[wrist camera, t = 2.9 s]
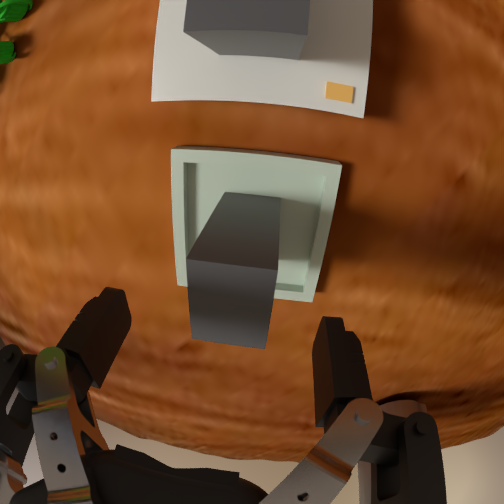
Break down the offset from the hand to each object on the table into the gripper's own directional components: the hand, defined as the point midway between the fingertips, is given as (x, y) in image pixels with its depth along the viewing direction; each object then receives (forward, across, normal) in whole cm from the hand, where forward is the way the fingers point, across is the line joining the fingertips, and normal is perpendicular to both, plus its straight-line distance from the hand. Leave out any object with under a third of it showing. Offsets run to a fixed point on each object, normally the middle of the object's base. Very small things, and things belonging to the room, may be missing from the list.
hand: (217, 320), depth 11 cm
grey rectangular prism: (+9, 0, 0) cm, 9 cm away
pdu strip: (+10, 0, -17) cm, 19 cm away
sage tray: (+9, 0, 0) cm, 9 cm away
